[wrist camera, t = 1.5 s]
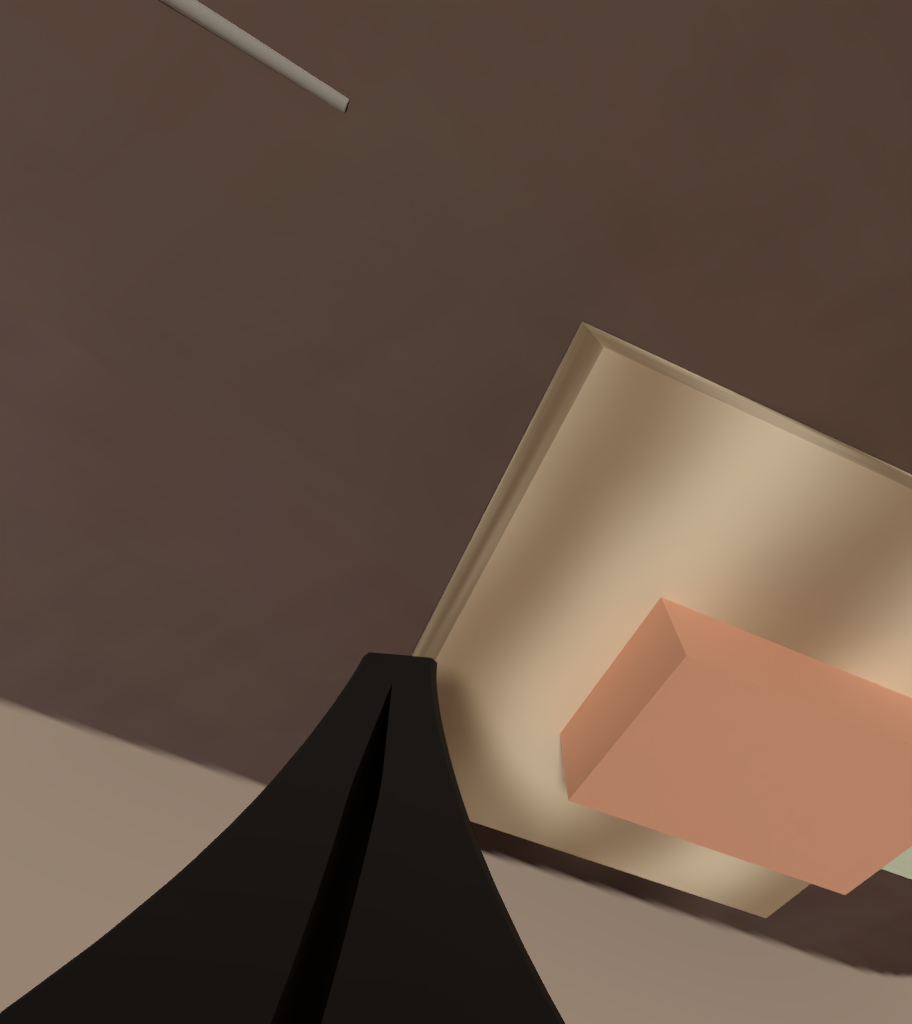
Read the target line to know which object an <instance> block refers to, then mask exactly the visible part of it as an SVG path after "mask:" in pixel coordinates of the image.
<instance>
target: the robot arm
mask: <svg viewBox="0 0 912 1024" xmlns="http://www.w3.org/2000/svg"><path fill="white" fill-rule="evenodd" d="M0 1024H565V1023H564V1021H563V1019H562V1017H561V1015H560V1013H559V1012H558V1010H557V1008H556V1006H555V1005H554V1003H553V1001H552V999H551V997H550V995H549V994H548V992H547V990H546V988H545V986H544V984H543V982H542V980H541V978H540V976H539V974H538V972H537V971H536V969H535V967H534V965H533V963H532V961H531V959H530V957H529V955H528V954H527V951H526V949H525V948H524V945H523V943H522V941H521V939H520V937H519V935H518V933H517V931H516V928H515V926H514V924H513V922H512V920H511V918H510V916H509V913H508V911H507V909H506V907H505V905H504V903H503V901H502V898H501V896H500V894H499V892H498V890H497V888H496V885H495V883H494V881H493V878H492V876H491V874H490V871H489V869H488V866H487V864H486V861H485V859H484V857H483V854H482V852H481V849H480V846H479V844H478V841H477V839H476V836H475V833H474V831H473V828H472V825H471V823H470V820H469V817H468V814H467V811H466V808H465V805H464V802H463V799H462V796H461V793H460V790H459V786H458V783H457V780H456V777H455V773H454V770H453V766H452V762H451V759H450V755H449V751H448V746H447V742H446V738H445V734H444V729H443V725H442V720H441V714H440V708H439V701H438V693H437V662H436V661H435V660H434V659H433V658H430V657H418V656H406V655H394V654H382V653H370V652H369V653H368V654H367V655H365V656H364V657H363V659H362V660H361V662H360V664H359V666H358V667H357V669H356V671H355V672H354V674H353V676H352V677H351V679H350V680H349V682H348V683H347V685H346V686H345V688H344V689H343V691H342V692H341V694H340V695H339V697H338V698H337V700H336V701H335V702H334V704H333V705H332V707H331V708H330V709H329V711H328V712H327V713H326V715H325V716H324V717H323V719H322V720H321V721H320V723H319V724H318V725H317V727H316V728H315V729H314V731H313V732H312V733H311V735H310V736H309V737H308V739H307V740H306V741H305V742H304V744H303V745H302V746H301V747H300V748H299V749H298V751H297V752H296V753H295V754H294V755H293V757H292V758H291V759H290V760H289V761H288V763H287V764H286V765H285V766H284V767H283V769H282V770H281V771H280V772H279V773H278V775H277V776H276V777H275V778H274V779H273V780H272V781H271V782H270V784H269V785H268V786H267V787H266V788H265V789H264V790H263V791H262V792H261V793H260V795H259V796H258V797H257V798H256V799H255V800H254V801H253V802H252V803H251V804H250V805H249V806H248V807H247V808H246V809H245V810H244V811H243V812H242V813H241V814H240V815H239V816H238V817H237V818H236V820H235V821H234V822H233V823H232V824H231V825H230V826H229V827H228V828H226V829H225V831H223V832H222V833H221V834H220V835H219V836H218V837H217V838H216V839H215V840H214V841H213V842H212V843H211V844H210V845H209V846H208V847H207V848H205V849H204V850H203V851H202V852H201V853H200V854H199V855H198V856H197V857H196V858H195V859H194V860H193V861H192V862H191V863H189V864H188V865H187V866H186V867H185V868H184V869H183V870H182V871H181V872H179V873H178V874H177V875H176V876H175V877H174V878H173V879H172V880H170V881H169V882H168V883H167V884H166V885H164V886H163V887H162V888H161V889H160V890H158V891H157V892H156V893H155V894H154V895H152V896H151V897H150V898H149V899H148V900H146V901H145V902H144V903H143V904H142V905H140V906H139V907H138V908H137V909H136V910H134V911H133V912H132V913H131V914H130V915H128V916H127V917H126V918H125V919H124V920H122V921H121V922H120V923H119V924H118V925H116V926H115V927H114V928H113V929H112V930H110V931H109V932H108V933H106V934H105V935H104V936H103V937H102V938H100V939H99V940H98V941H96V942H95V943H94V944H92V945H91V946H90V947H88V948H87V949H86V950H84V951H83V952H82V953H80V954H79V955H78V956H77V957H75V958H74V959H72V960H71V961H70V962H68V963H67V964H66V965H64V966H63V967H62V968H60V969H59V970H58V971H56V972H55V973H54V974H52V975H51V976H49V977H48V978H47V979H45V980H44V981H43V982H41V983H40V984H39V985H37V986H36V987H35V988H33V989H32V990H31V991H29V992H28V993H27V994H25V995H24V996H23V997H21V998H20V999H18V1000H17V1001H16V1002H14V1003H13V1004H11V1005H10V1006H9V1007H7V1008H6V1009H5V1010H3V1011H2V1012H1V1013H0Z"/></svg>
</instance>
